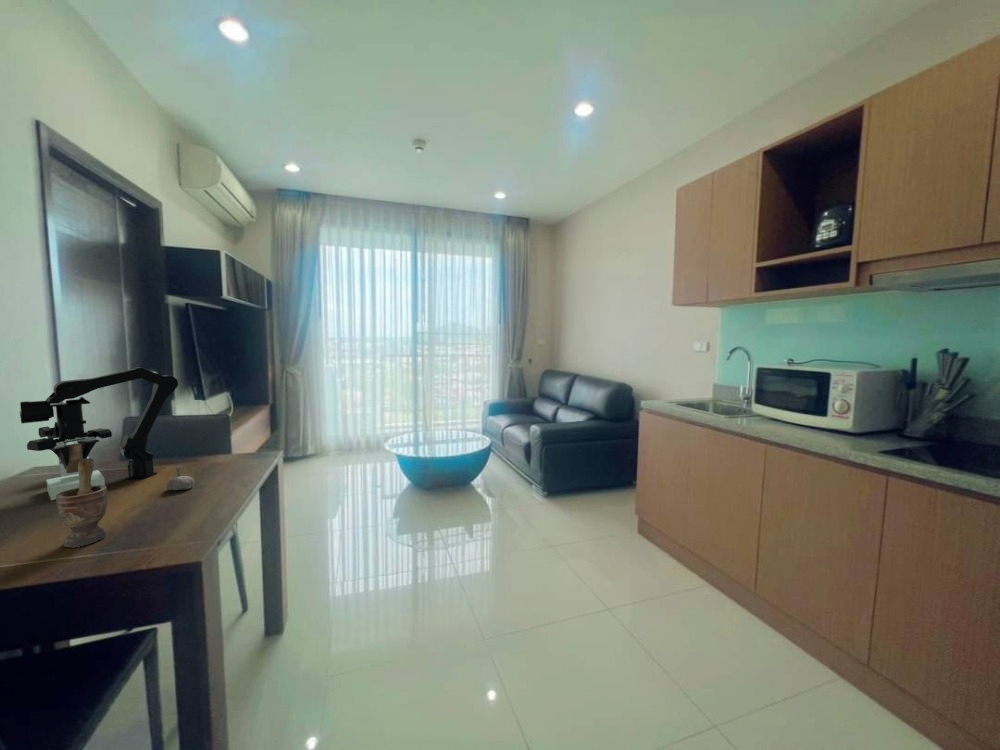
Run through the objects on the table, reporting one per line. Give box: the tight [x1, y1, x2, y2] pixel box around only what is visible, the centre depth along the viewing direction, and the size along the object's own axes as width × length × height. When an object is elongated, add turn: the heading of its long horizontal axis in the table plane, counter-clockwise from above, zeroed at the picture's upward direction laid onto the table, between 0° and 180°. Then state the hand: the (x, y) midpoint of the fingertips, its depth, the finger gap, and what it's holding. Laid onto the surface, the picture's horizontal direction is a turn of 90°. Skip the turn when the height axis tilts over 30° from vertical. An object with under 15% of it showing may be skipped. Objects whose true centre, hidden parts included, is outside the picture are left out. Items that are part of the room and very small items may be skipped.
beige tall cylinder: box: [64, 443, 83, 473], centre depth 127 cm, size 4×4×9 cm
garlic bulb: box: [166, 466, 196, 491], centre depth 130 cm, size 8×7×8 cm
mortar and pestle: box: [55, 457, 108, 549], centre depth 96 cm, size 12×9×20 cm
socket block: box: [46, 469, 106, 501], centre depth 128 cm, size 12×12×4 cm
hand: (74, 463), depth 127 cm, fingers closed on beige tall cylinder, 4 cm apart
